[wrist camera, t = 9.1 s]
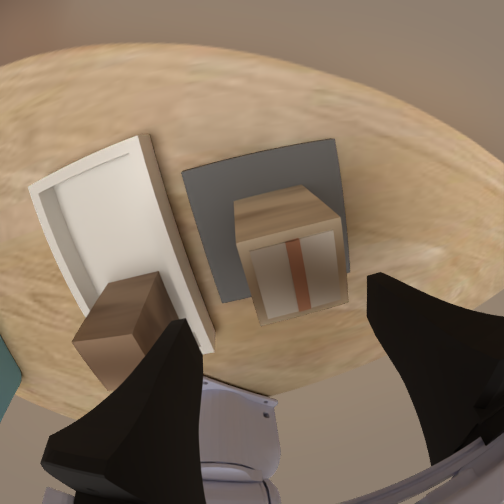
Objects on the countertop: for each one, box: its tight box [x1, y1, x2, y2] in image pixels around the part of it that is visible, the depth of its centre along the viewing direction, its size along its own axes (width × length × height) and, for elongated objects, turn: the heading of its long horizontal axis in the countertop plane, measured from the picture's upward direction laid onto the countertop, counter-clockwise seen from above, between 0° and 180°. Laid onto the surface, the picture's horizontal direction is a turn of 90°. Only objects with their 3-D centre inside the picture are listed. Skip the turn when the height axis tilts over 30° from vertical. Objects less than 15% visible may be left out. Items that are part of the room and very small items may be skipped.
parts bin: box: [28, 134, 215, 354], centre depth 19 cm, size 16×9×2 cm, turn 13°
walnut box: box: [72, 271, 179, 391], centre depth 18 cm, size 4×4×7 cm
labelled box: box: [234, 184, 349, 326], centre depth 16 cm, size 4×4×7 cm
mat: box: [181, 139, 350, 303], centre depth 19 cm, size 10×10×1 cm
